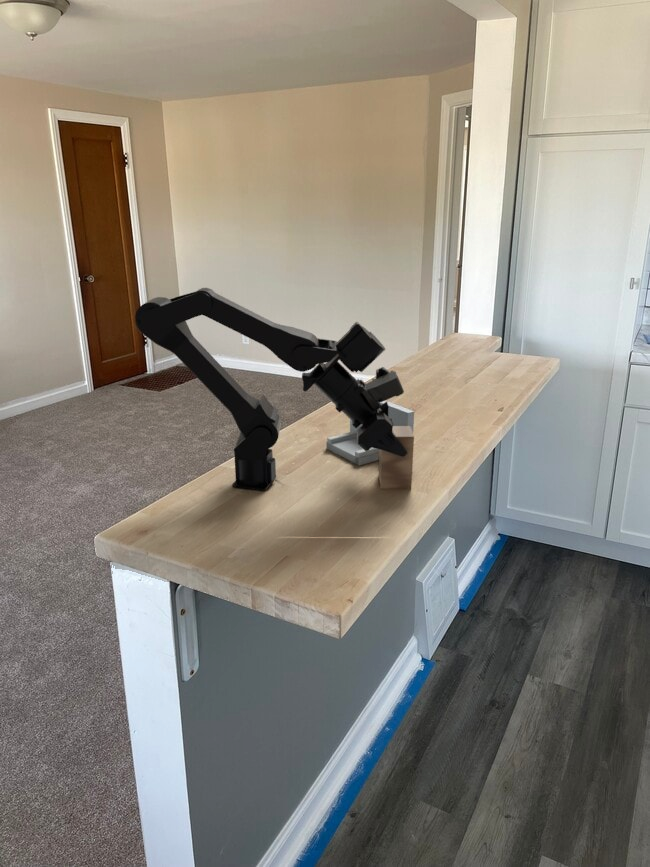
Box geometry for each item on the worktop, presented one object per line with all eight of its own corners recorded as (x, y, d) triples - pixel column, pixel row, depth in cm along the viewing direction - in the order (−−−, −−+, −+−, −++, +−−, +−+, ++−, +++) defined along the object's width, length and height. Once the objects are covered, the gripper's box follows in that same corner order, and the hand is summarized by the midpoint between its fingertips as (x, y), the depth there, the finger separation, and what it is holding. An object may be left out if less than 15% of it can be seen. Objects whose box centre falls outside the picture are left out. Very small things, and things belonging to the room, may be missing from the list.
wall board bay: (371, 471, 123) (372, 422, 119) (316, 443, 136) (316, 398, 133) (411, 458, 128) (414, 411, 125) (355, 433, 142) (356, 390, 139)
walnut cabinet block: (380, 488, 115) (382, 436, 112) (378, 476, 121) (380, 425, 117) (411, 488, 115) (414, 436, 112) (407, 476, 121) (410, 426, 117)
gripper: (380, 371, 101) (446, 437, 105) (373, 345, 119) (429, 402, 122) (330, 419, 104) (396, 481, 108) (330, 386, 121) (387, 441, 125)
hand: (403, 448), depth 116 cm, fingers closed on walnut cabinet block, 5 cm apart
